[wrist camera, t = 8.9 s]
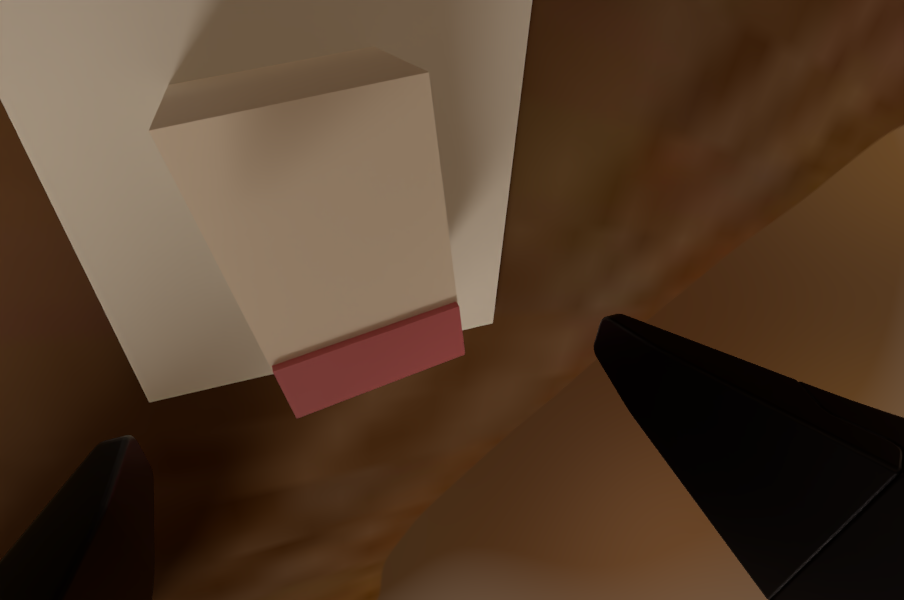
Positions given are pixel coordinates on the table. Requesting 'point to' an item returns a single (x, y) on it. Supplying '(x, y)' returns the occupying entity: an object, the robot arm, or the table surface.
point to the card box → (322, 215)
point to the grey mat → (153, 188)
